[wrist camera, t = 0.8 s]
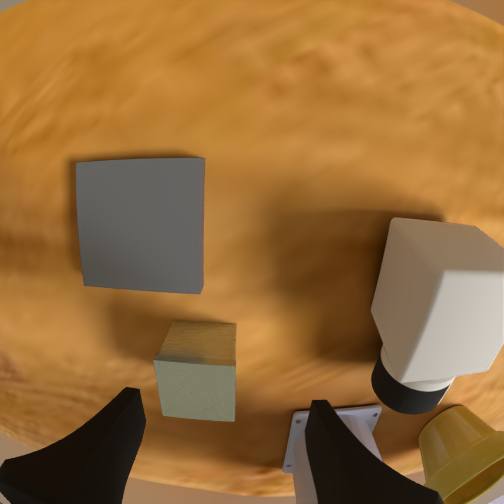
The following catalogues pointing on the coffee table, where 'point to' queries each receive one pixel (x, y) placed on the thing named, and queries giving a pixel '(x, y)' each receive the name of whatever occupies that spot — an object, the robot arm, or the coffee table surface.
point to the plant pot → (461, 455)
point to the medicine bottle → (435, 310)
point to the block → (142, 223)
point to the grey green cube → (198, 371)
